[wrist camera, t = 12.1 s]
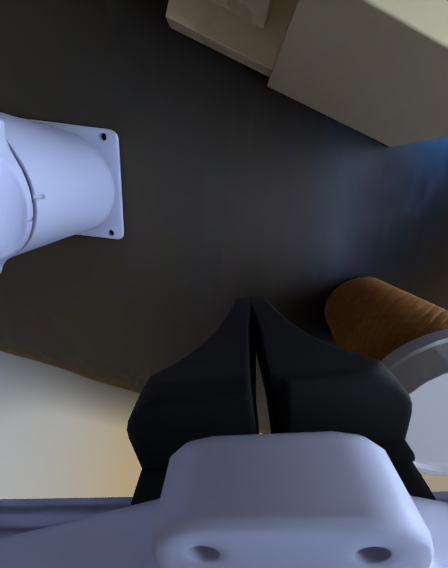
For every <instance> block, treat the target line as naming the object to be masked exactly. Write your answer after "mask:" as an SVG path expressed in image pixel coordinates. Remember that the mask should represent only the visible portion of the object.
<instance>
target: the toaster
mask: <svg viewBox="0 0 448 568" xmlns="http://www.w3.org/2000/svg"><path fill="white" fill-rule="evenodd" d="M267 86H268V87H270V88H272V89H274V90H276V91H278V92H280V93H282V94H284V95H286V96H288V97H290V98H292V99H294V100H296V101H298V102H300V103H302V104H304V105H306V106H308V107H310V108H312V109H314V110H316V111H318V112H320V113H322V114H324V115H326V116H328V117H330V118H332V119H334V120H336V121H338V122H340V123H342V124H345V125H347V126H349V127H351V128H353V129H355V130H357V131H359V132H361V133H363V134H365V135H367V136H369V137H371V138H373V139H375V140H377V141H379V142H381V143H383V144H385V145H387V146H389V147H395V146H400V145H405V144H410V143H415V142H421V141H426V140H431V139H436V138H442V137H447V136H448V0H299V1H298V3H297V6H296V9H295V11H294V14H293V17H292V19H291V22H290V25H289V27H288V30H287V33H286V35H285V38H284V41H283V43H282V46H281V49H280V51H279V54H278V57H277V60H276V62H275V65H274V68H273V70H272V73H271V76H270V78H269V81H268V84H267Z"/></svg>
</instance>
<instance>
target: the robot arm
mask: <svg viewBox="0 0 448 568" xmlns="http://www.w3.org/2000/svg"><path fill="white" fill-rule="evenodd" d="M103 133H105V134H106V140H105V141H104V140H103V139H102V134H103ZM110 230H112V231H113V232H114V235H112V234H111V233H110ZM74 234H77V235H85V236H94V237H102V238H110V239H121V238H122V237H123V236H124V221H123V204H122V187H121V170H120V153H119V138H118V135H117V133H116V132H114V131H112V130H110V129H102V128H94V127H86V126H79V125H71V124H63V123H55V122H47V121H39V120H31V119H23V118H19V117H15V116H12V115H8V114H5V113H1V112H0V274H1V273H2V267H3V265H4V263H5V261H6V260H7V259H9V258H11V257H14V256H16V255H19V254H22V253H25V252H27V251H30V250H33V249H36V248H38V247H41V246H44V245H47V244H50V243H52V242H55V241H58V240H61V239H63V238H66V237H69V236H72V235H74ZM256 353H257V358H258V362H259V367H260V371H261V375H262V380H263V384H264V388H265V393H266V399H267V406H268V414H269V421H270V429H271V434H259V426H258V416H257V405H256ZM411 415H412V401H411V398H410V396H409V393H408V392H407V391H406V390H405V388H404V387H403V386H402V385H401V383H400V382H399V381H398V380H397V378H396V377H395V376H394V375H393V374H392V372H391V371H390V370H389V369H388V368H387V367H386V366H385V365H384V364H383V363H382V362H381V361H380V360H377V359H374V358H370V357H367V356H363V355H360V354H356V353H353V352H350V351H347V350H344V349H341V348H339V347H336V346H333V345H331V344H329V343H326V342H324V341H322V340H320V339H318V338H316V337H314V336H312V335H310V334H308V333H306V332H304V331H303V330H301V329H300V328H298V327H296V326H295V325H293V324H292V323H291V322H289V321H288V320H287V319H286V318H285V317H283V316H282V315H281V314H280V313H279V312H278V311H277V310H276V309H275V308H274V307H273V306H272V305H271V304H270V303H269V302H268V301H267V299H266V298H265V297H263V296H260V297H250V298H239V299H237V300H236V301H235V304H234V306H233V308H232V309H231V311H230V313H229V314H228V316H227V317H226V319H225V320H224V322H223V323H222V324H221V325H220V327H219V328H218V329H217V330H216V332H215V333H214V334H213V335H212V336H211V337H210V338H209V339H208V340H207V341H206V342H204V343H203V344H202V345H201V346H200V347H198V348H197V349H196V350H195V351H193V352H192V353H190V354H189V355H188V356H186V357H185V358H183V359H181V360H180V361H178V362H177V363H175V364H173V365H171V366H169V367H167V368H166V369H164V370H162V371H160V372H158V373H156V374H154V375H152V376H150V377H149V379H148V381H147V382H146V384H145V386H144V388H143V389H142V392H141V394H140V396H139V398H138V400H137V402H136V405H135V407H134V409H133V411H132V414H131V416H130V418H129V420H128V426H127V432H128V436H129V439H130V442H131V444H132V446H133V448H134V451H135V453H136V455H137V458H138V460H139V462H140V464H141V467H142V471H141V474H140V477H139V480H138V483H137V486H136V489H135V493H134V496H133V497H114V498H113V497H111V498H56V499H2V500H1V499H0V568H448V492H431V490H430V488H429V487H428V485H427V484H426V482H425V481H424V479H423V478H422V476H421V474H420V472H419V471H418V469H417V468H416V466H415V464H414V463H413V461H415V455H414V452H413V451H412V449H411V448H410V446H409V445H408V443H407V442H406V440H405V439H406V435H407V431H408V427H409V423H410V419H411Z"/></svg>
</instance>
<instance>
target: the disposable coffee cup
mask: <svg viewBox="0 0 448 568" xmlns="http://www.w3.org/2000/svg"><path fill="white" fill-rule="evenodd" d="M324 312H325V318H326V321H327V323H328V325H329V328H330V330H331V333H332V335H333V338H334V340H335V343H336V345H337V347H339V348H341V349H344V350H347V351H350V352H353V353H356V354H360V355H363V356H367V357H370V358H374V359H377V360H380V361H381V362H382V363H383V364H384V365H385V366H386V367H387V368H388V369H389V370H390V371H391V372H392V374H393V375H394V376H395V377H396V378H397V380H398V381H399V382H400V383H401V385H402V386H403V387H404V388H405V390H406V391H407V392H408V393H409V396H410V398H411V401H412V415H411V419H410V423H409V427H408V431H407V435H406V439H405V440H406V442H407V443H408V445H409V446H410V448H411V449H412V451H413V452H414V455H415V461H413V463H414V464H415V466H416V468H417V469H418V471H419V472H420V473H422V474H427V475H434V476H448V311H445V309H443V308H440V307H438V306H436V305H434V304H431V303H429V302H427V301H425V300H422V299H421V298H418V297H416V296H414V295H412V294H409V293H407V292H405V291H403V290H401V289H398V288H396V287H394V286H392V285H389V284H387V283H385V282H383V281H381V280H379V279H376V278H372V277H359V278H355V279H351V280H349V281H347V282H345V283H343V284H341V285H340V286H338V287H337V288H336V289H335V290H334V291H333V292H332V293H331V295H330V296H329V298H328V299H327V302H326V304H325V311H324Z"/></svg>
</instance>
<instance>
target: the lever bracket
mask: <svg viewBox="0 0 448 568" xmlns="http://www.w3.org/2000/svg"><path fill="white" fill-rule="evenodd" d="M298 1H299V0H169V2H168V6H167V11H166V19H167V21H168V24H169V26H170V28H172V29H174V30H176V31H178V32H180V33H182V34H184V35H186V36H188V37H190V38H192V39H194V40H196V41H198V42H200V43H202V44H204V45H206V46H208V47H210V48H212V49H214V50H216V51H218V52H220V53H222V54H224V55H226V56H228V57H230V58H232V59H234V60H236V61H238V62H240V63H242V64H244V65H246V66H248V67H250V68H252V69H254V70H256V71H258V72H260V73H262V74H264V75H266V76H268V77H270V76H271V73H272V70H273V68H274V65H275V62H276V60H277V57H278V54H279V51H280V49H281V46H282V43H283V41H284V38H285V35H286V33H287V30H288V27H289V25H290V22H291V19H292V17H293V14H294V11H295V9H296V6H297V3H298Z"/></svg>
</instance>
